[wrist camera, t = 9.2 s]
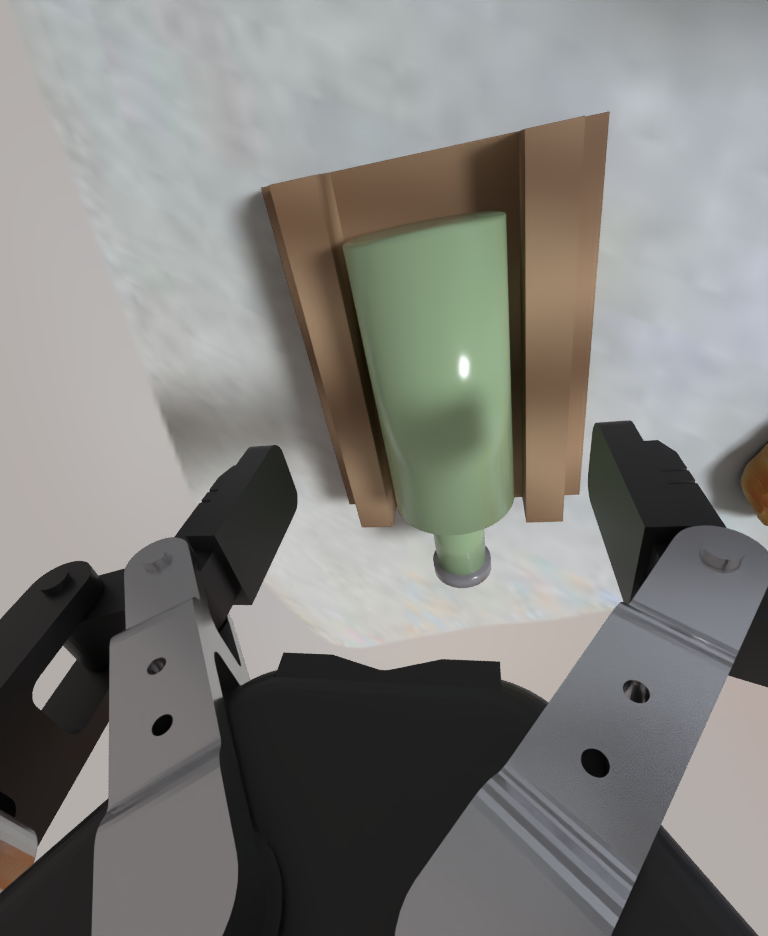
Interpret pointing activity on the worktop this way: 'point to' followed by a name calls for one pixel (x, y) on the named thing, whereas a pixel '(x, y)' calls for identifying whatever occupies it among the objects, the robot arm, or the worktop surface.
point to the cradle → (529, 291)
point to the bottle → (441, 376)
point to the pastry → (757, 484)
